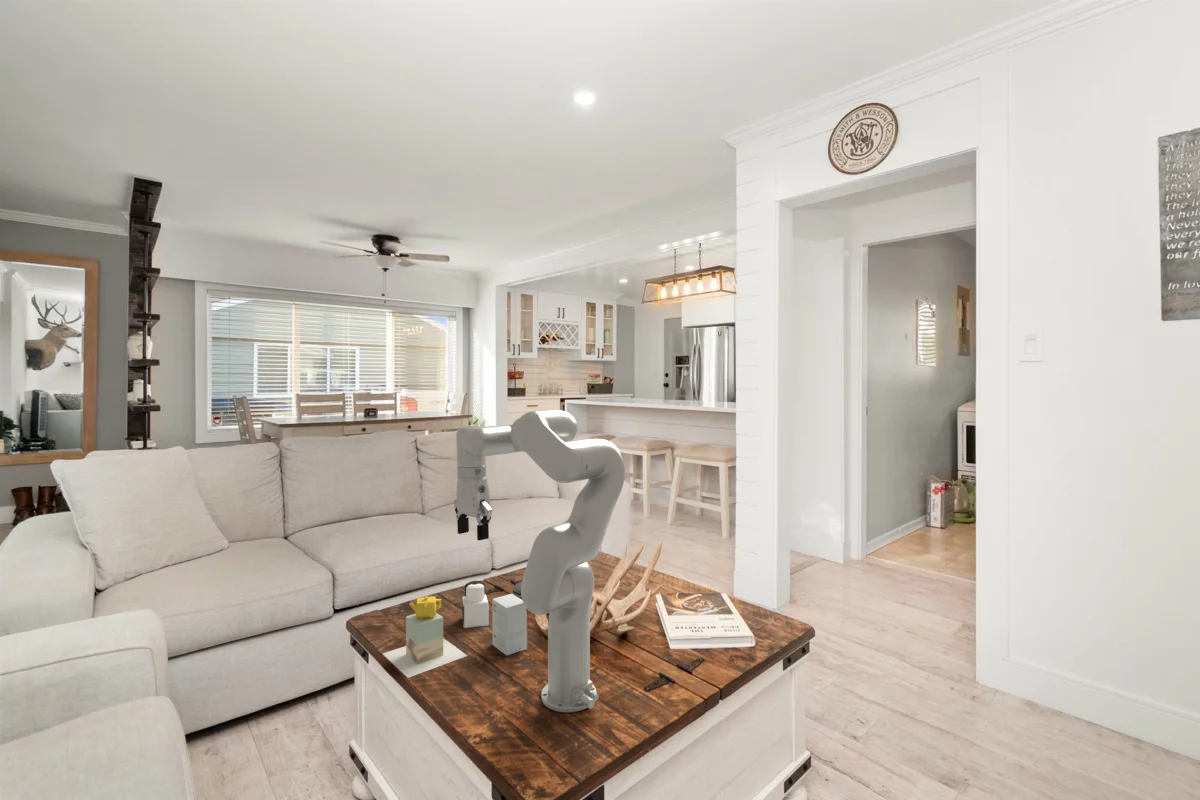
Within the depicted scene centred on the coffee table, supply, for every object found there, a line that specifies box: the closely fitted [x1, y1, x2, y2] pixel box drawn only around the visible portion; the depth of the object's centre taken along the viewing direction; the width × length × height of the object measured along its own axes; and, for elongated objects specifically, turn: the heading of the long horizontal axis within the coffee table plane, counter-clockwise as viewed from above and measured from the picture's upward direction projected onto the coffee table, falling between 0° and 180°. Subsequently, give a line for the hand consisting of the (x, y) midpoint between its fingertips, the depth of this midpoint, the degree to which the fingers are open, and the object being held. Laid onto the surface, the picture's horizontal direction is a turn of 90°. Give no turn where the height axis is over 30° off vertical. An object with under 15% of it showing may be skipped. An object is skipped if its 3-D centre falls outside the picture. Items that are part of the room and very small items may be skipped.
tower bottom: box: [405, 635, 444, 664], centre depth 146 cm, size 7×7×5 cm
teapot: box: [409, 596, 442, 620], centre depth 145 cm, size 8×6×5 cm
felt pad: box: [382, 637, 468, 679], centre depth 146 cm, size 16×16×1 cm
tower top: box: [405, 612, 444, 645], centre depth 146 cm, size 7×7×5 cm
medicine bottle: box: [461, 580, 490, 629], centre depth 166 cm, size 7×7×12 cm
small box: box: [491, 593, 528, 656], centre depth 150 cm, size 8×6×13 cm
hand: (472, 536), depth 150 cm, fingers open, 9 cm apart
